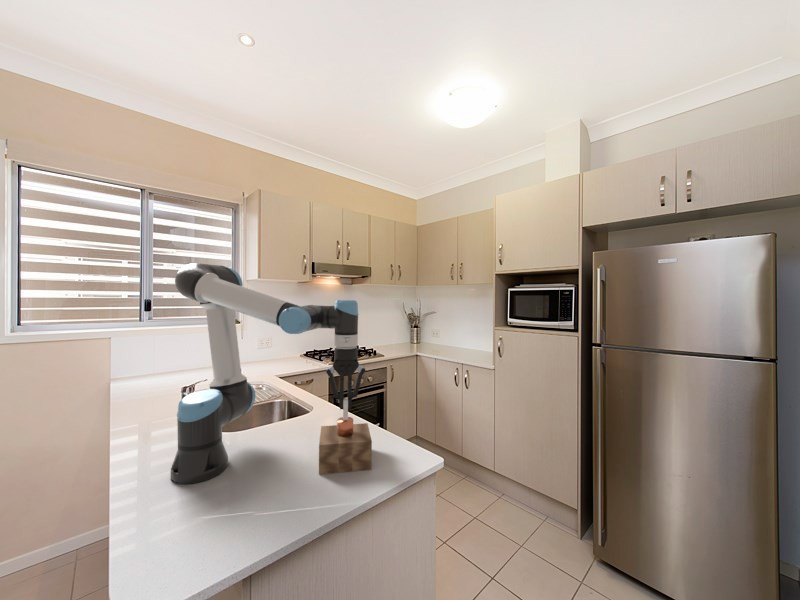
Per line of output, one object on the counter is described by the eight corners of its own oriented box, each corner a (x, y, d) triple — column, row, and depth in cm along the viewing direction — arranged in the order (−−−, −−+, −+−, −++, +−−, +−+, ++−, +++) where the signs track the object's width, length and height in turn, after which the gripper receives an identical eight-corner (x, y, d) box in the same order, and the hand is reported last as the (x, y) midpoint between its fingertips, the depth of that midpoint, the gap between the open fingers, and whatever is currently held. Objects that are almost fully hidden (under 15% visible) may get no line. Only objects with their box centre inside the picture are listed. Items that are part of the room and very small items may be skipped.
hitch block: (318, 474, 97) (319, 445, 97) (321, 452, 111) (321, 426, 111) (371, 469, 100) (371, 441, 100) (367, 448, 114) (367, 423, 114)
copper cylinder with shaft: (337, 456, 103) (337, 423, 102) (337, 448, 108) (337, 417, 108) (353, 454, 104) (353, 422, 103) (352, 447, 109) (352, 416, 109)
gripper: (325, 349, 100) (324, 424, 101) (367, 348, 103) (366, 421, 103) (326, 345, 107) (325, 415, 108) (365, 344, 110) (364, 413, 110)
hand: (345, 418), depth 106 cm, fingers closed
